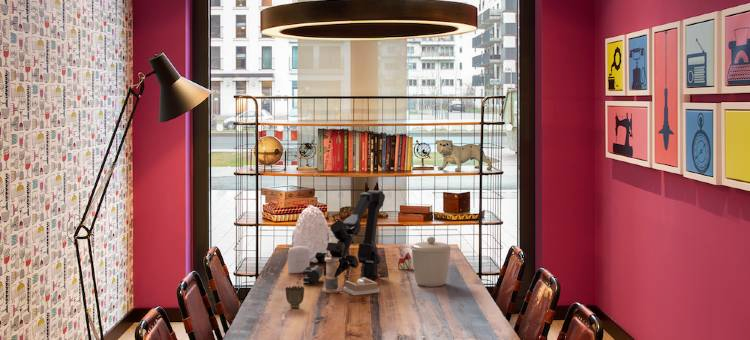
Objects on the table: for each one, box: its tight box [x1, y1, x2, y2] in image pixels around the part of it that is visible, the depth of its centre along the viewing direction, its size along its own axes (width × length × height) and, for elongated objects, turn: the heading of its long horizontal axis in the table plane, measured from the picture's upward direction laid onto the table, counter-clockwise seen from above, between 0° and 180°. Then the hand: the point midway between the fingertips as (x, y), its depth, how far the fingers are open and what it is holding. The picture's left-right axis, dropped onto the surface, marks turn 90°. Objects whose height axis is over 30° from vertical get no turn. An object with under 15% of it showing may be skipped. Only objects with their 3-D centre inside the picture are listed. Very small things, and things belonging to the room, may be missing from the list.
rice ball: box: [291, 204, 332, 263], centre depth 432 cm, size 28×19×28 cm
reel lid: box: [356, 277, 368, 285], centre depth 380 cm, size 6×6×2 cm
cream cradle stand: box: [343, 278, 381, 296], centre depth 365 cm, size 12×10×4 cm
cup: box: [285, 285, 305, 310], centre depth 336 cm, size 8×7×8 cm
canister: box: [410, 236, 453, 288], centre depth 378 cm, size 18×18×21 cm
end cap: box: [302, 265, 324, 286], centre depth 382 cm, size 10×7×7 cm
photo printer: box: [287, 246, 310, 274], centre depth 403 cm, size 10×4×12 cm, turn 116°
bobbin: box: [323, 257, 340, 294], centre depth 365 cm, size 6×6×14 cm
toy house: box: [397, 252, 412, 270], centre depth 413 cm, size 6×7×8 cm
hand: (329, 276), depth 363 cm, fingers closed on bobbin, 5 cm apart
